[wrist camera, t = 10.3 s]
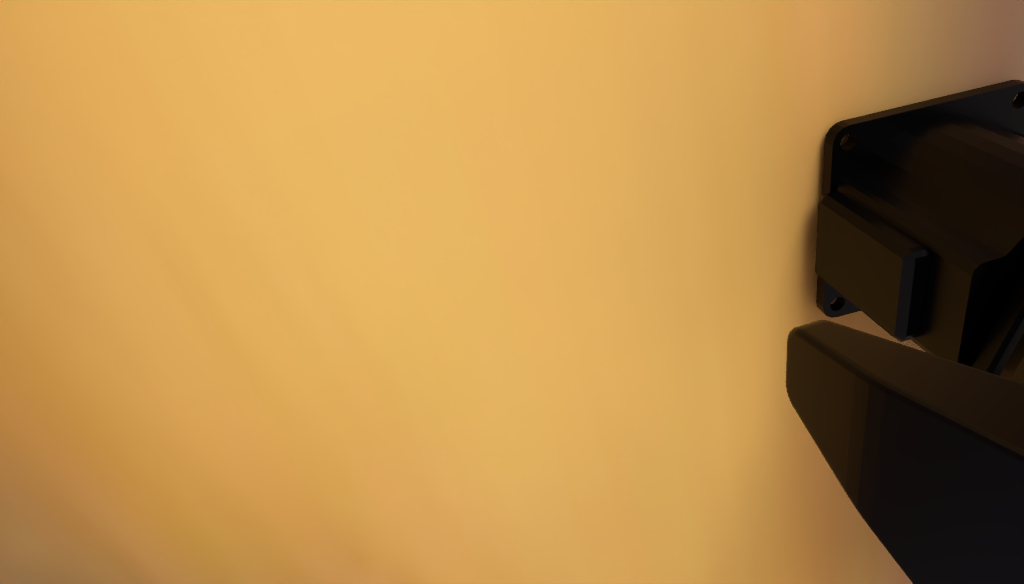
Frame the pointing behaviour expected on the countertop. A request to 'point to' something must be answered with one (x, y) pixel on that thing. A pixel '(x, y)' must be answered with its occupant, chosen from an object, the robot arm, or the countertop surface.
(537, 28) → the countertop surface
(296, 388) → the countertop surface
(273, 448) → the countertop surface
